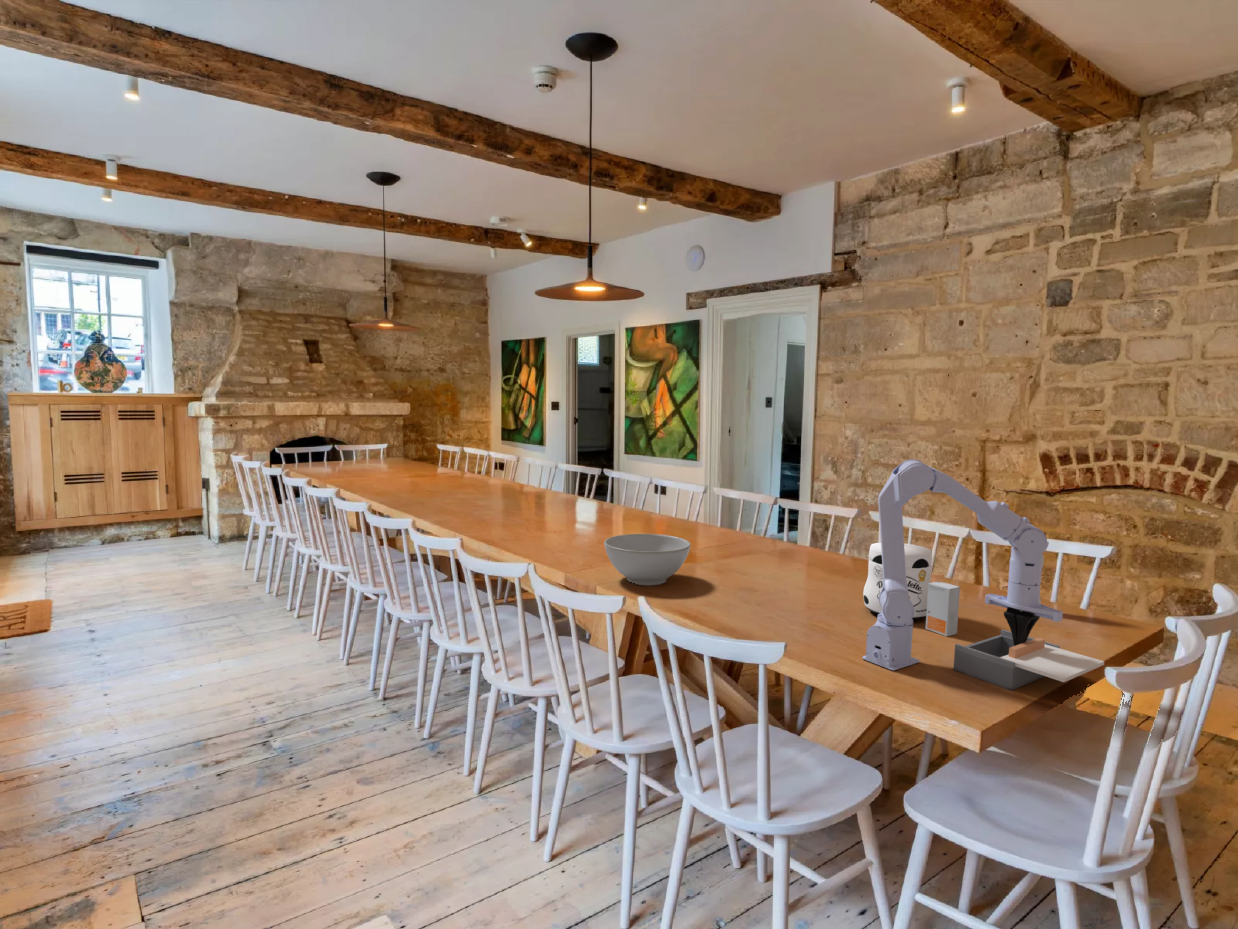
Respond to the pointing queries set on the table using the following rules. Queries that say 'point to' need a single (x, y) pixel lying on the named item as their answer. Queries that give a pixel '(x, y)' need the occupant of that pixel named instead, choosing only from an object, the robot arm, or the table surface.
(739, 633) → the table surface
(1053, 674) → the lid
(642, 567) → the decorative bowl
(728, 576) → the table surface
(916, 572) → the milk container
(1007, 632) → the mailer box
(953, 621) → the skincare box
